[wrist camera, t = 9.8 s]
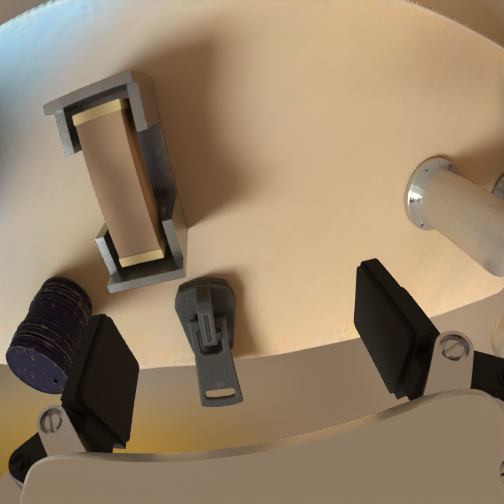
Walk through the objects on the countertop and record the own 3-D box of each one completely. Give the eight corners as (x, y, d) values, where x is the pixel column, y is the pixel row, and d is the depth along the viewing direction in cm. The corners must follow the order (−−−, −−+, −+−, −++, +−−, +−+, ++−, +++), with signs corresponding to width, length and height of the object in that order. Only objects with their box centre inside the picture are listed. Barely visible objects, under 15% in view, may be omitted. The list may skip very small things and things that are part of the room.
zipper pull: (199, 409, 49) (168, 310, 37) (197, 382, 55) (171, 280, 42) (247, 403, 50) (238, 303, 38) (241, 376, 56) (232, 274, 43)
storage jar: (37, 310, 41) (7, 376, 28) (43, 266, 37) (2, 334, 24) (87, 332, 44) (67, 403, 32) (98, 291, 41) (73, 367, 28)
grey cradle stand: (151, 77, 28) (130, 70, 19) (187, 229, 39) (185, 277, 29) (85, 100, 28) (42, 105, 18) (128, 243, 38) (110, 293, 29)
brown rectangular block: (130, 97, 25) (118, 98, 21) (167, 236, 33) (163, 257, 29) (89, 112, 25) (72, 116, 21) (130, 245, 33) (122, 267, 29)
